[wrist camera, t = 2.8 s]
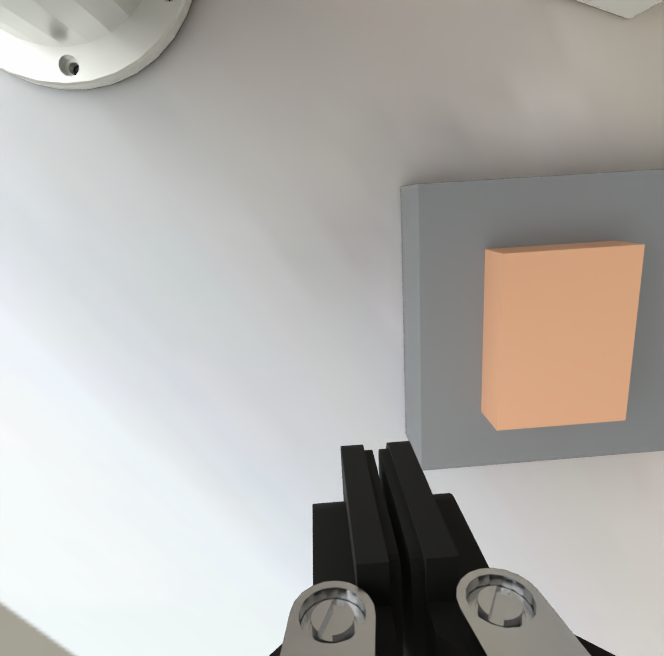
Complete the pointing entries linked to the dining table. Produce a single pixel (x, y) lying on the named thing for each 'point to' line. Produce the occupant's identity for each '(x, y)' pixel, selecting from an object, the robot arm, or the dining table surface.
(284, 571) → the dining table surface
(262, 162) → the dining table surface
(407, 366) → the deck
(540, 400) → the tile
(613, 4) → the milk carton
